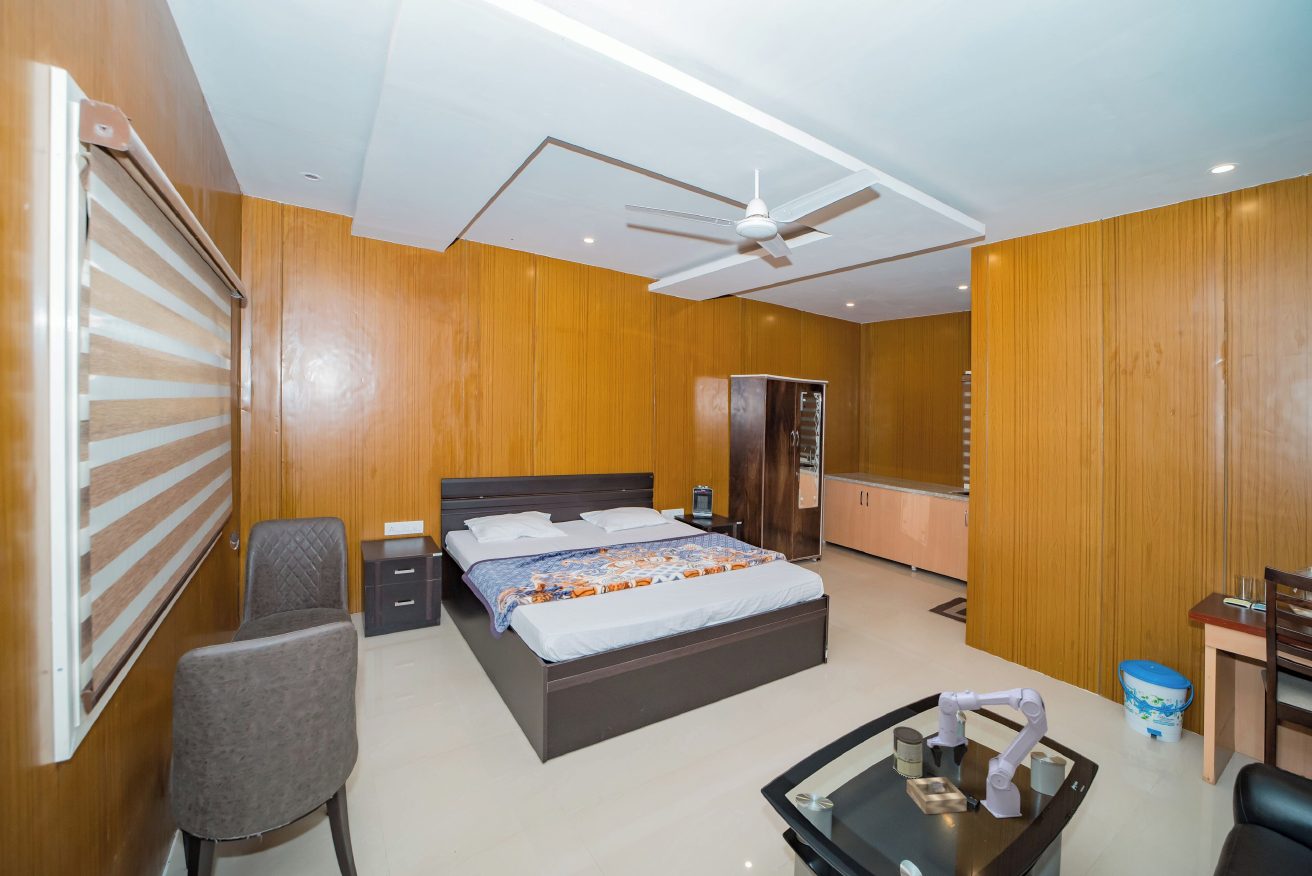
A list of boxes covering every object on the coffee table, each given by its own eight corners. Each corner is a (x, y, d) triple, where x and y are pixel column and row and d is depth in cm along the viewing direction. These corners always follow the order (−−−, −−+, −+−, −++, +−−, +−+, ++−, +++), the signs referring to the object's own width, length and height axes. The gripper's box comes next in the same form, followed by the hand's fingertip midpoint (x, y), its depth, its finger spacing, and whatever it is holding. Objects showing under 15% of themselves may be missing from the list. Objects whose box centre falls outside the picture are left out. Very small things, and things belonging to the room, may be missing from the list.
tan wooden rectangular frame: (945, 789, 192) (945, 776, 191) (966, 810, 181) (966, 798, 180) (906, 792, 190) (906, 779, 190) (925, 814, 179) (925, 801, 179)
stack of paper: (937, 797, 187) (937, 778, 187) (944, 805, 183) (944, 786, 183) (928, 798, 187) (928, 779, 187) (935, 806, 183) (935, 787, 183)
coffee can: (886, 764, 205) (887, 728, 205) (908, 759, 209) (908, 724, 208) (907, 781, 196) (907, 744, 195) (929, 775, 199) (929, 738, 199)
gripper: (958, 720, 194) (958, 756, 195) (922, 722, 193) (921, 759, 193) (972, 731, 187) (971, 768, 188) (934, 733, 186) (933, 771, 186)
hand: (947, 764), depth 190 cm, fingers open, 7 cm apart
